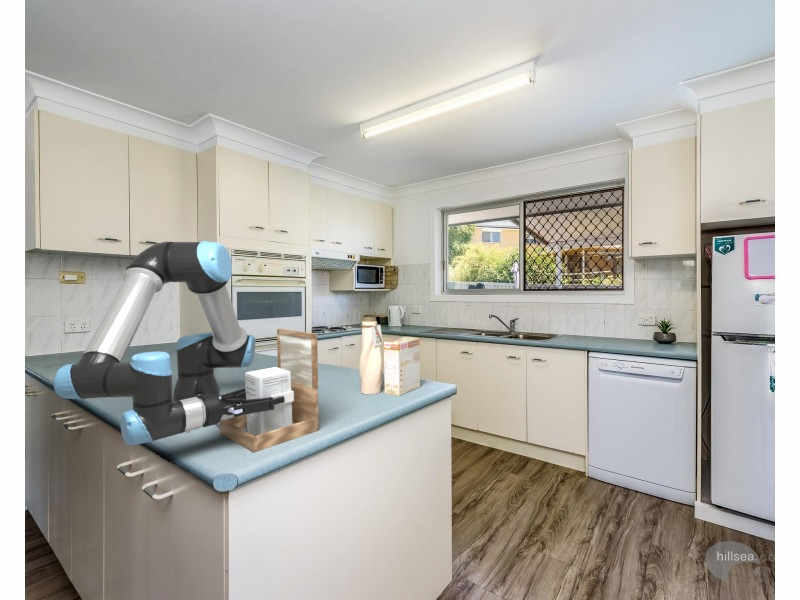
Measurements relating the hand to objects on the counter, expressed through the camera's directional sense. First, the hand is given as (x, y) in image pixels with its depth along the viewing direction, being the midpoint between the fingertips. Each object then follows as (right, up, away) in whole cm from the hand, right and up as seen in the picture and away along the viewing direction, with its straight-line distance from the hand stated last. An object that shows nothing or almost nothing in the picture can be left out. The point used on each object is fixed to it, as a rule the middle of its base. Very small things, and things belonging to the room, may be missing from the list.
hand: (283, 392), depth 110 cm
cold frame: (-3, -10, -3) cm, 11 cm away
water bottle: (+23, -9, +36) cm, 43 cm away
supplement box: (-3, -10, -3) cm, 11 cm away
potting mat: (-18, -10, +11) cm, 23 cm away
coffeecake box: (+34, -8, +38) cm, 52 cm away
